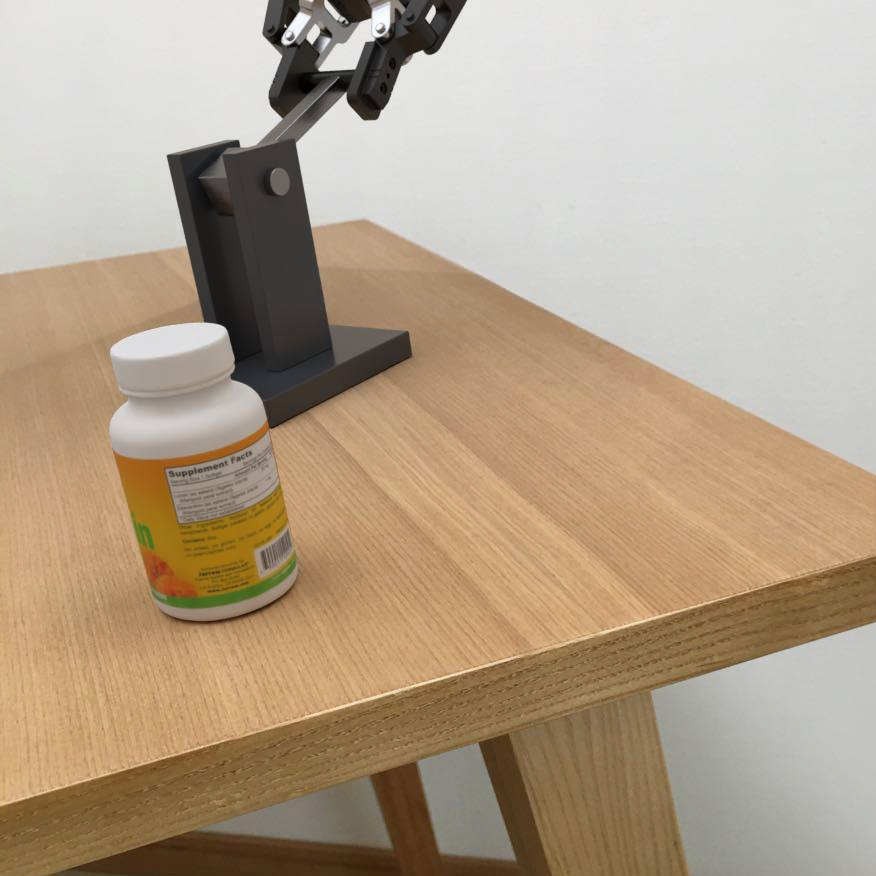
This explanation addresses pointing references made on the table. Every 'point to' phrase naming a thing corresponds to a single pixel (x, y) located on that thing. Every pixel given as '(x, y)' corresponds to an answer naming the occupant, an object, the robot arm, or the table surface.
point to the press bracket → (271, 280)
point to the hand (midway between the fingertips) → (322, 112)
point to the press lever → (283, 128)
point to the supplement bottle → (199, 475)
